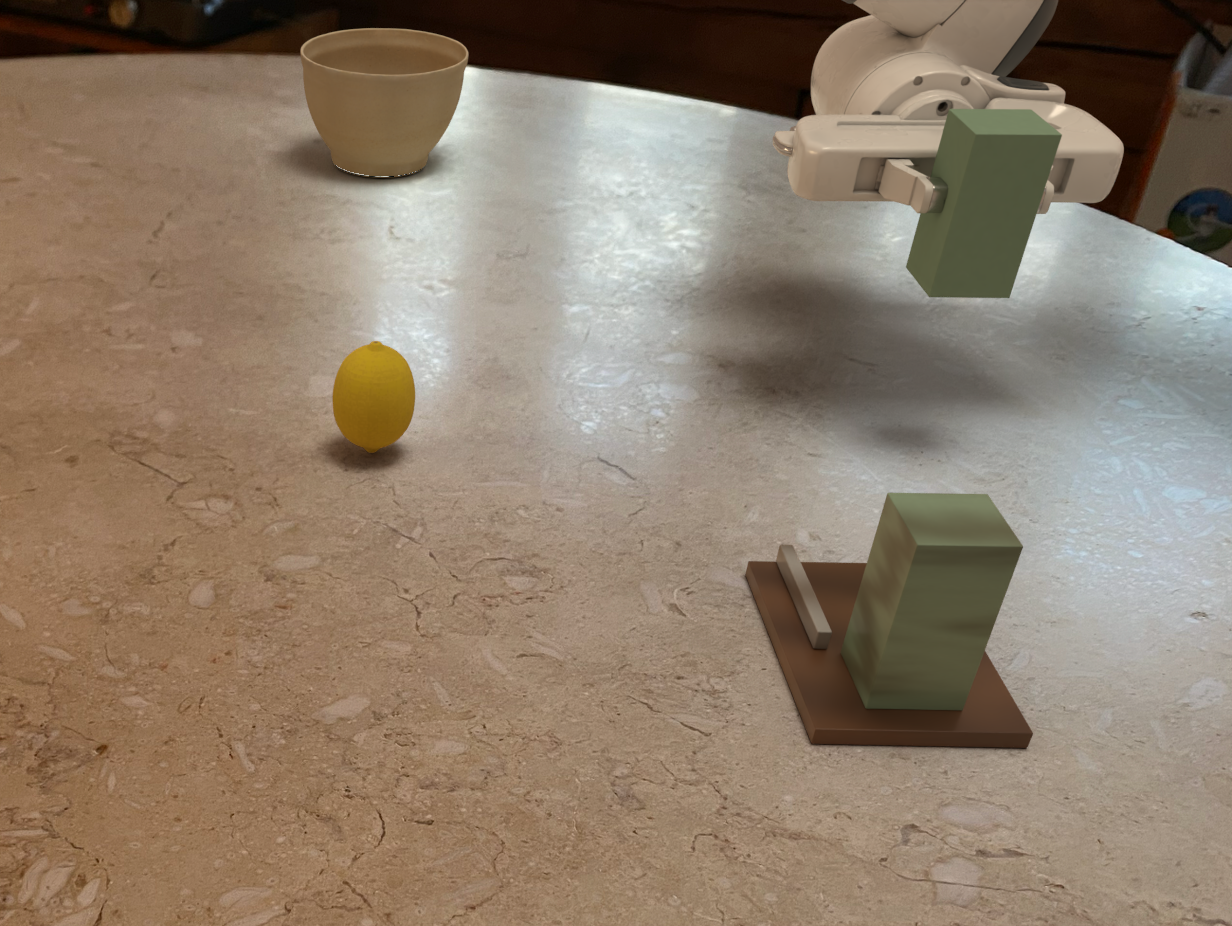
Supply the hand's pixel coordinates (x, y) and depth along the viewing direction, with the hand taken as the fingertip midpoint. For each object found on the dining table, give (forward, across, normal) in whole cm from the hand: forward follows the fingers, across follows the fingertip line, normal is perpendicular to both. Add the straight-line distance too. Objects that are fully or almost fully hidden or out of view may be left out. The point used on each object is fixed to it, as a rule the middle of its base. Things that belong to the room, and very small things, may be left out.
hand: (987, 201), depth 90 cm
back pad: (-1, 0, +6) cm, 6 cm away
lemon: (+2, -37, +17) cm, 41 cm away
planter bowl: (-58, -36, +17) cm, 70 cm away
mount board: (+26, -10, +17) cm, 32 cm away
